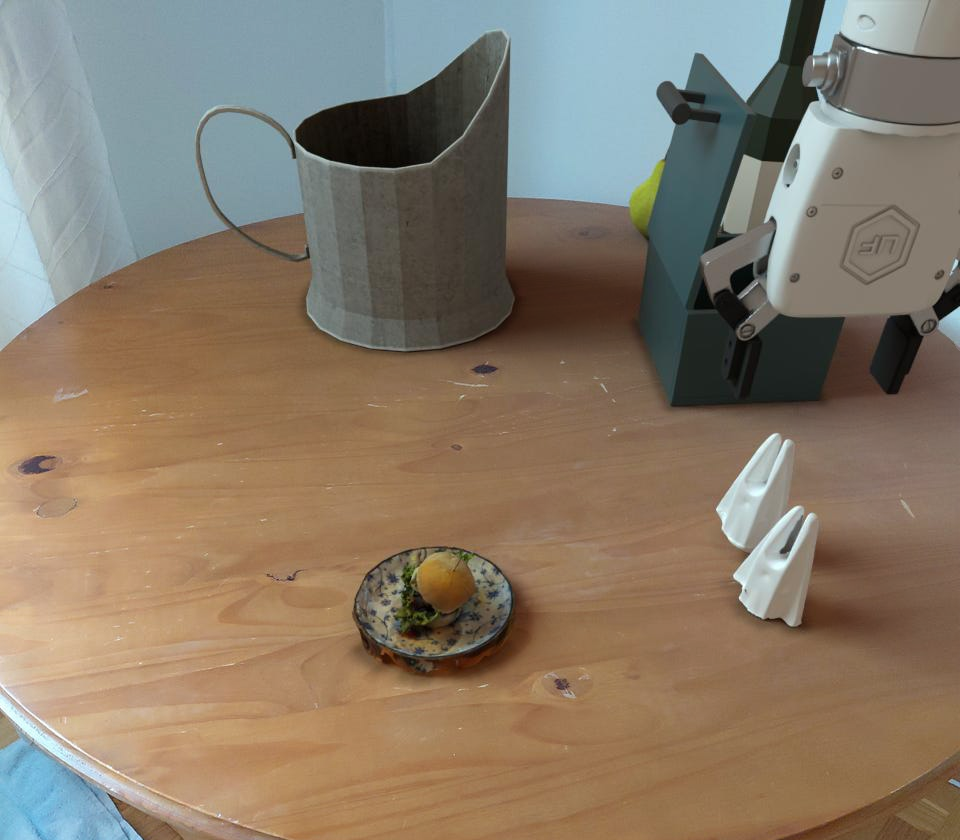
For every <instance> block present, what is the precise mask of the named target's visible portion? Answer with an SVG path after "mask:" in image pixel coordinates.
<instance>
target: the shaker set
mask: <svg viewBox="0 0 960 840" xmlns="http://www.w3.org/2000/svg"><path fill="white" fill-rule="evenodd" d="M782 442H783V440H782V435H781V434H780V433H778V432H775V433H772V434H771V435H770V436H769V437H767V438H766V440H764V442H763V443H762V444H761V445H760V446H759V447H758V448H757V450H756V451H755V452H754V454H753V455H752V457H751V458H750V460H749V461H748V463H747V464H746V465H745V466H744V468H743V469H742V471H741V472H740V473H739V475H738V476H737V478H736V479H735V480H734V482H733V483H732V484H731V486H730V488H729V489H728V490H727V492H726V493H725V494H724V496H723V498H721V501H720V502H719V503H718V505H717V507H716V508H715V509H716V510H715V511H716V513H717V515H718V517H719V518H720V520H721V524H722V525H721V530H722V532H723V533H724V535H725V536H726V538H727V539H728V541H729V542H730V544H732V545H733V546H734V547H735V548H736V549H739V550H740V551H743V552H744V553H747V554H749V555H748V556H747V557H746V559H744V561H743V562H742V563H741V564H740V565H739V567H738V568H737V570H736V571H735V572H734V573H733V575H732V577H733V580H735V581H737V582H738V583H739V584H740V586H742V587H741V593H740V594H739V596H738V599H739V601H740V602H741V603H742V604H743V606H745V608H746V609H747V610H746V611H748V612H750V613H751V614H752V615H754V616H756V617H759V618H761V620H766V619H768V618H769V620H770V619H772V620H774V619H779V618H780V619H782V620H783V621H784V622H785V623H786V624H787V625H788V626H789V627H798V626H800V625H801V624H802V623H803V622H802V618H803V613H804V609H805V603H806V599H807V595H808V590H809V585H810V579H811V575H812V569H813V563H814V558H815V552H816V545H817V540H818V535H819V530H820V529H819V528H820V521H819V517H818V515H817V514H816V513H814V512H810V513H809V514H808V515H807V516H806V518H805V507H804V506H802V505H796V506H793V508H791V509H790V510H788V505H789V499H790V492H791V487H792V486H791V485H792V479H793V475H794V467H795V466H794V465H795V458H796V446H795V442H794V441H793V440H792V439H790V438H787V439H785V440H784V442H783V444H782ZM804 518H805V520H804Z"/></svg>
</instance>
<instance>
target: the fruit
mask: <svg viewBox="0 0 960 840" xmlns="http://www.w3.org/2000/svg"><path fill="white" fill-rule="evenodd" d="M666 150H667V151H666V153H665V156H664V158H662V159H660V160H659V161H658V162H657V163H656V164H655V166H654V168H653V171H652V173H651V175H650V176H649V177H648V178H647V179H646V180H645V181H644V182H642V183H641V184H640V185H638V186H637V187H636V188H635V189H634V190H633V192H632V193H631V196H630V197H629V203H628V205H629V208H628V209H629V215H630V218H631V221H632V224H633V226H634V228H635V229H636V230H637V232H638V233H639V234H641V235H642V236H643V237H645V238H646V239H649V235H648V232H647V227H648V223H649V220H650V216H651V212H652V209H653V205H654V201H655V198H656V194H657V190H658V187H659V183H660V179H661V176H662V172H663V168H664V165H665V161H666V157H667V154H668V150H669V147H668V148H667V149H666Z"/></svg>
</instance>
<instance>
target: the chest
mask: <svg viewBox="0 0 960 840" xmlns="http://www.w3.org/2000/svg"><path fill="white" fill-rule="evenodd" d="M742 234H744V233H738V234H720V233H718V234H717V237H716V240H715V243H714V246H713V249H714V248H716V247H718V246H720V245H722V244H724V243H726V242H728V241H730V240H732V239H734V238H736V237H738V236H740V235H742ZM645 259H646V260H645V266H644V272H643V280H642V288H641V295H640V301H639V302H640V303H639V309H638V315H637V325H638V328H639V330H640V332H641V334H642V337H643V339H644V342H645V345H646V347H647V350H648V352H649V354H650V358H651V359H652V362H653V365H654V367H655V370H656V372H657V375H658V377H659V380H660V382H661V385H662V386H663V389H664V392H665V395H666V397H667V399H668V402H669V404H670V406H671V407H677V406H703V405H705V406H706V405H724V404H725V405H727V404H728V405H730V404H731V405H732V404H733V405H734V404H757V403H759V404H760V403H780V402H781V403H782V402H808V401H820V399H821V396H822V392H823V389H824V386H825V383H826V380H827V376H828V373H829V371H830V368H831V365H832V361H833V359H834V355H835V353H836V352H835V351H836V348H837V345H838V342H839V340H840V336H841V333H842V330H843V327H844V324H845V320H846V317H790V316H786V315H783V314H781V313H780V314H778V315H777V316H776V317H775V318H774V319H773V320H772V321H771V322H770V323H769V324H767V325H766V326H765V327H764V328H763V329H762V330H761V331H760V332H759V333H758V335H759V337H760V339H761V340H762V349H761V353H760V357H759V361H758V365H757V368H756V372H755V376H754V380H753V384H752V388H751V391H750V395H749V397H747V398H746V399H736V397H735V395H734V393H733V391H732V389H731V387H730V385H729V383H728V381H727V380H724V379H723V377H722V374H721V363H722V358H723V354H724V349H725V345H726V341H727V336H728V332H729V328H730V326H729V324H728V323H727V322H726V321H725V320H724V318H723V317H722V316H721V315H720V314H719V312H718V311H717V310H716V308H715V306H714V304H713V302H712V301H711V299H710V297H709V294H708V290H707V287H706V284H705V281H704V278H703V279H702V283H701V286H700V289H699V292H698V295H697V298H696V301H695V304H694V307H693V309H685V308H684V307H683V305H682V302H681V300H680V298H679V296H678V294H677V292H676V290H675V288H674V286H673V284H672V282H671V280H670V278H669V276H668V274H667V272H666V270H665V267H664V265H663V263H662V261H661V259H660V257H659V255H658V253H657V251H656V249H655V247H654V245H653V243H652V241H651V239H650V237H649V238H648V245H647V252H646V258H645ZM753 268H754V262H752V263H750V264H748V265H746V266H744V267H742V268H740V269H738V270H736V271H734V272H733V273H732V274H731V276H730V283H731V288H732V290H733V292H734V293H735V294H736V295H737V296H738V295H739V294H740V293H741V292H742V291H743V290H744V289H745V288H746V287H747V286H749V285H750V284H751V283H752V282H753V281H754V280H755V278H754V274H753Z"/></svg>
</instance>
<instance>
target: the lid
mask: <svg viewBox="0 0 960 840" xmlns="http://www.w3.org/2000/svg"><path fill="white" fill-rule="evenodd" d="M655 93H656V94H655V95H656V98H657V100H658V102H659V103H660V104H661V106H662V108H663V109H664V110H665V112H666V113H667V115H668V116H669V118H670V119H671V121H672V122H673V123H674V129H673V131H672V135H671V139H670V144H669V146H668V148H669V150H668V149H667V150H668V154H667V157H666V161H665V165H664V168H663V172H662V176H661V179H660V183H659V187H658V190H657V194H656V198H655V201H654V205H653V209H652V212H651V216H650V220H649V223H648V227H647V232H648V235H649V237H650V239H651V241H652V243H653V245H654V247H655V249H656V251H657V253H658V255H659V257H660V259H661V261H662V263H663V265H664V267H665V270H666V272H667V274H668V276H669V278H670V280H671V282H672V284H673V286H674V288H675V290H676V292H677V294H678V296H679V298H680V300H681V302H682V305H683V307H684V308H685V309H693V307H694V304H695V301H696V298H697V295H698V292H699V289H700V286H701V283H702V279H703V275H702V272H701V269H700V266H699V259H700V257H701V256H702V255H703V254H704V253H706V252H708V251H710V250H712V249H713V246H714V243H715V240H716V237H717V234H719V231H720V228H721V226H722V223H723V218H724V213H725V210H726V207H727V204H728V201H729V198H730V195H731V192H732V189H733V186H734V183H735V180H736V177H737V174H738V171H739V168H740V165H741V162H742V158H743V155H744V152H745V149H746V146H747V143H748V140H749V137H750V134H751V131H752V128H753V125H754V122H755V119H756V116H757V115H756V114H755V113H754V111H753V110H752V109H751V108H750V107H749V106H748V105H747V103H746V101H745V100H744V99H743V97H742V96H741V95H740V94H739V93H738V92H737V90H735V88H734V87H733V86H732V85H731V84H730V83H729V82H728V80H727V79H726V78H725V77H724V76H723V75H722V73H720V71H719V70H718V68H716V67H715V66H714V64H712V62H711V61H710V60H709V59H708V58H707V56H706V55H705V54H704V53H700V52H695V53H694V56H693V58H692V62H691V66H690V70H689V73H688V78H687V82H686V84H685V88H684V89H682V88H681V89H680V88H677V87H676V85H675V84H674V83H673V82H672V81H671V80H664V81H662V82H661V83H660V84H659V85H658V86H657V87H656V90H655Z"/></svg>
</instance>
